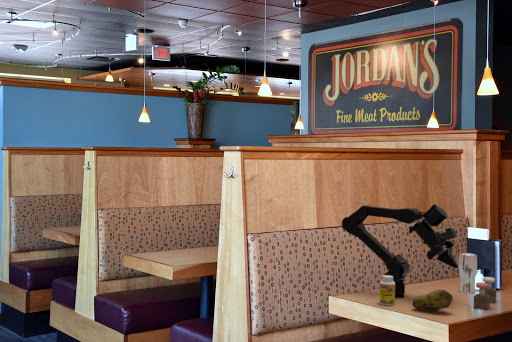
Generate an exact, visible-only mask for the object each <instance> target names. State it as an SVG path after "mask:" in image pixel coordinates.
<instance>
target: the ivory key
mask: <svg viewBox="0 0 512 342" xmlns="http://www.w3.org/2000/svg"><path fill="white" fill-rule="evenodd" d="M495 280H496V278H495V277H491V276H483V277H482V281H483V283H487V284H489V288H486V290H491V288H492V287H493V286H492V284H493V283H496V281H495Z"/></svg>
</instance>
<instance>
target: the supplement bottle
mask: <svg viewBox="0 0 512 342" xmlns="http://www.w3.org/2000/svg"><path fill="white" fill-rule="evenodd" d="M378 291H379V295H378V296H379V299H378V300H379V301H378V302H379V304H380V305H382V306H393V305H394V304H395V302H396V301H395V299H396V297H395V282H394V281H393V276H389V275H384V274H383V275H381V280H380V281H379V290H378Z"/></svg>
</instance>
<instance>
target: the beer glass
mask: <svg viewBox="0 0 512 342" xmlns="http://www.w3.org/2000/svg"><path fill="white" fill-rule="evenodd" d="M477 256H478V254H475V253H470V252H469V253H467V252H465V253H464V252H461V253H459V257H458V258H459V259H458V271H459V278H460V284H459V285H460V286H459V290H458V291H459V292H461V293H465V294H473V293H475V294H476V288H475V287H476V285H475V279H476V275H477V270H478V257H477Z"/></svg>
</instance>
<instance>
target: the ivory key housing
mask: <svg viewBox="0 0 512 342" xmlns="http://www.w3.org/2000/svg"><path fill="white" fill-rule="evenodd" d="M485 295H490V303H493V304H494V303H496V302H497V290H496V289H495V288H493V287H491V290H486V288H485Z"/></svg>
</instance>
